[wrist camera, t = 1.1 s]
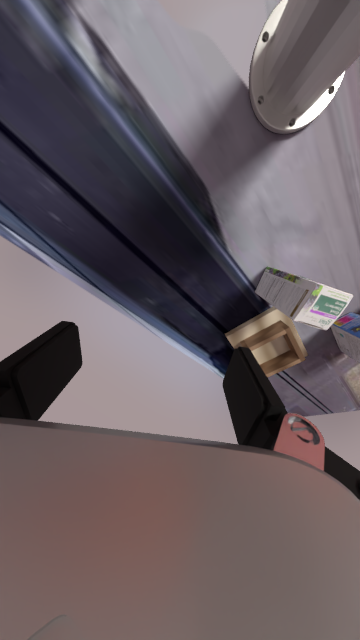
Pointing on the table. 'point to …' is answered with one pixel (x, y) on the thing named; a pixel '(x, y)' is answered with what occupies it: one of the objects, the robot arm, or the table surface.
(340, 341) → the ink cartridge box
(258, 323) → the desk stand
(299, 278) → the syrup box
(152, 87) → the table surface
